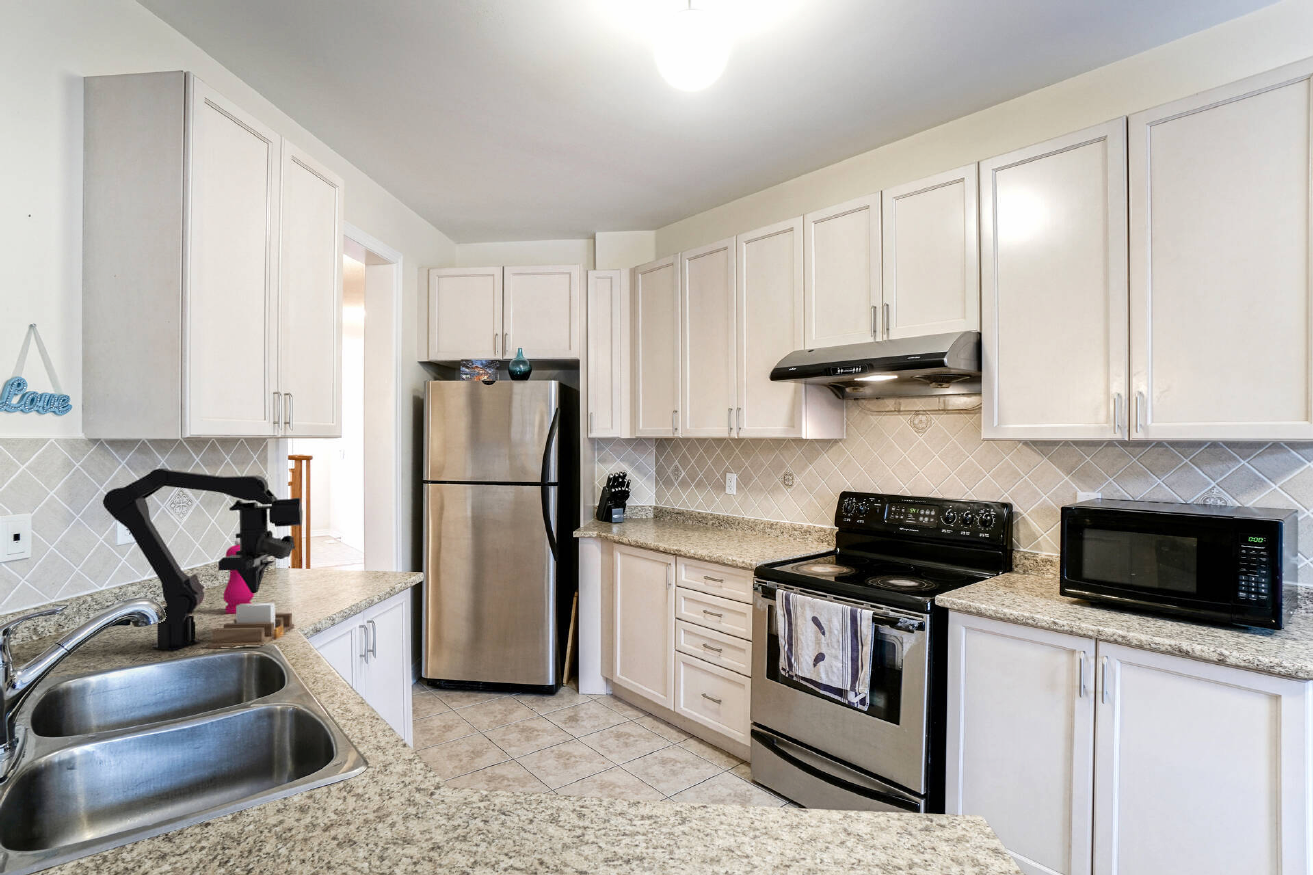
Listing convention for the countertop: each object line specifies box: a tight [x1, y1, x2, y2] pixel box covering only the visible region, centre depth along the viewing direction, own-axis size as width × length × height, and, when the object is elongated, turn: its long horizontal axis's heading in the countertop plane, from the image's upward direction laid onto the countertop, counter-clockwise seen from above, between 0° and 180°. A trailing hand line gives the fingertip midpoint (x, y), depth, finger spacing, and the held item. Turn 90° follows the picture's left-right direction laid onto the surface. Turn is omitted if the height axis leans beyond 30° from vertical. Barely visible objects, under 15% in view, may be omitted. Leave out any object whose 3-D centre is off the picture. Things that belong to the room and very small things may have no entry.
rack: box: [209, 612, 295, 650], centre depth 158 cm, size 16×12×4 cm
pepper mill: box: [222, 538, 255, 615], centre depth 183 cm, size 7×7×20 cm
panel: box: [235, 602, 276, 629], centre depth 158 cm, size 2×8×7 cm, turn 93°
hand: (254, 592), depth 158 cm, fingers closed
